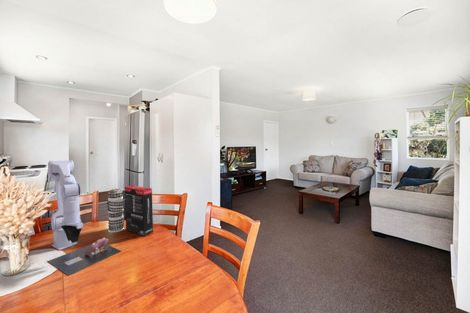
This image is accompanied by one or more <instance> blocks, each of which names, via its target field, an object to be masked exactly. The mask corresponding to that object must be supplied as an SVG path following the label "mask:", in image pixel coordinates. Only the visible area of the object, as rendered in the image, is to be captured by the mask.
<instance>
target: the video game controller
mask: <svg viewBox="0 0 470 313" xmlns="http://www.w3.org/2000/svg"><path fill="white" fill-rule="evenodd" d="M109 241H110V240H109V239H108V238H106V237H103V238H99V239H97V240H95V241H94V242H93V243H91V244H92V245H91V244H90V245H91V246H90V247H89V248H88V249H87V250H86V251H85V255H89V254H91V253H92V252H94V253H96V252H97V251H98V250H99V249H100V250H101V249H103V248H104V246H105V245H106V244H107V245H108V243H109Z"/></svg>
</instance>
